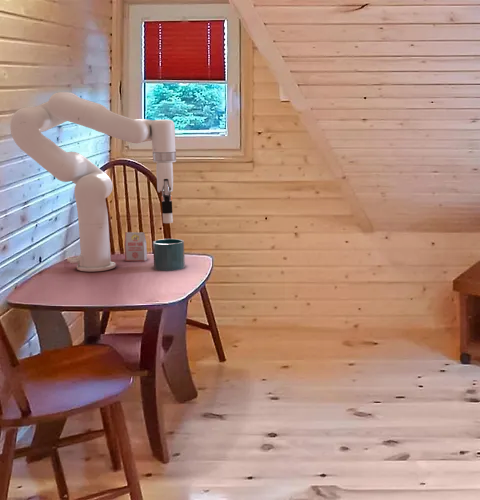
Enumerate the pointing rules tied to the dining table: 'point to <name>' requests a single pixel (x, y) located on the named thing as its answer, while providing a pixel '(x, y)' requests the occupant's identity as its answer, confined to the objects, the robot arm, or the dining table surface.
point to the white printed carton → (135, 246)
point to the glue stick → (167, 215)
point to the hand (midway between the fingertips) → (167, 211)
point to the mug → (168, 254)
